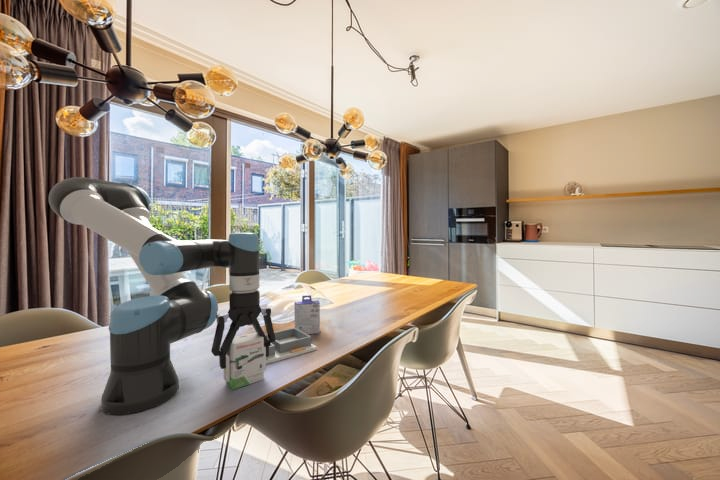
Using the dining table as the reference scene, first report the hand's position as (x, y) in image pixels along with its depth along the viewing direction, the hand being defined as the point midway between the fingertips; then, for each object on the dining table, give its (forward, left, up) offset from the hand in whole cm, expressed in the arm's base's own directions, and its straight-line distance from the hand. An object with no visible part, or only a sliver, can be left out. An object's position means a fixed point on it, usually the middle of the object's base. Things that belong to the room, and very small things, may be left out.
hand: (245, 373), depth 80 cm
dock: (+13, +14, -2) cm, 19 cm away
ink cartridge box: (+32, +24, -2) cm, 40 cm away
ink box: (0, 0, -2) cm, 2 cm away
